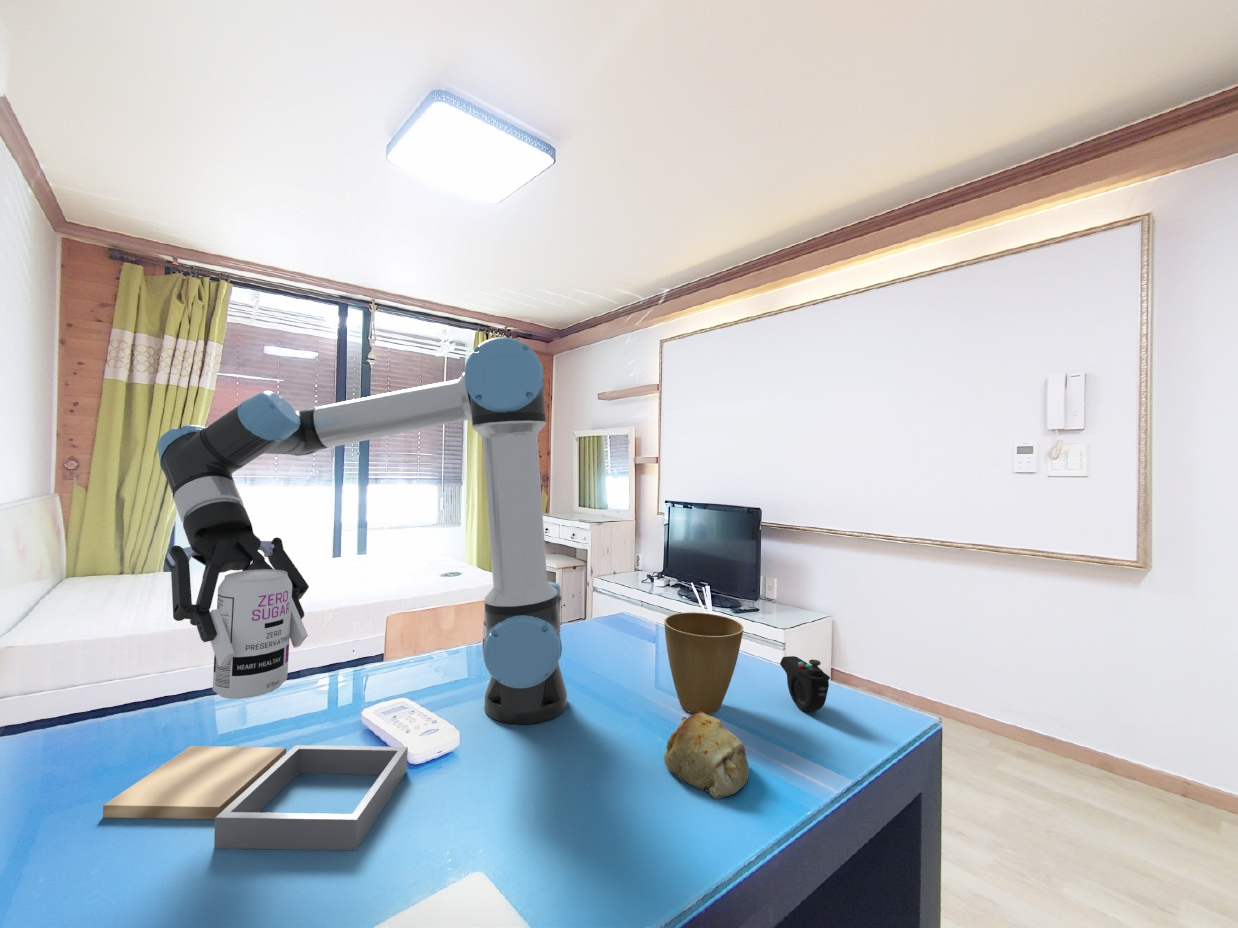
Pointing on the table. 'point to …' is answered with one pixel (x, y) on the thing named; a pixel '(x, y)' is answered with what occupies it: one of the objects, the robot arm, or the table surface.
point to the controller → (806, 682)
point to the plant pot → (702, 658)
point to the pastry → (707, 756)
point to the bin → (311, 830)
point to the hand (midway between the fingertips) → (265, 650)
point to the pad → (194, 783)
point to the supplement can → (254, 632)
